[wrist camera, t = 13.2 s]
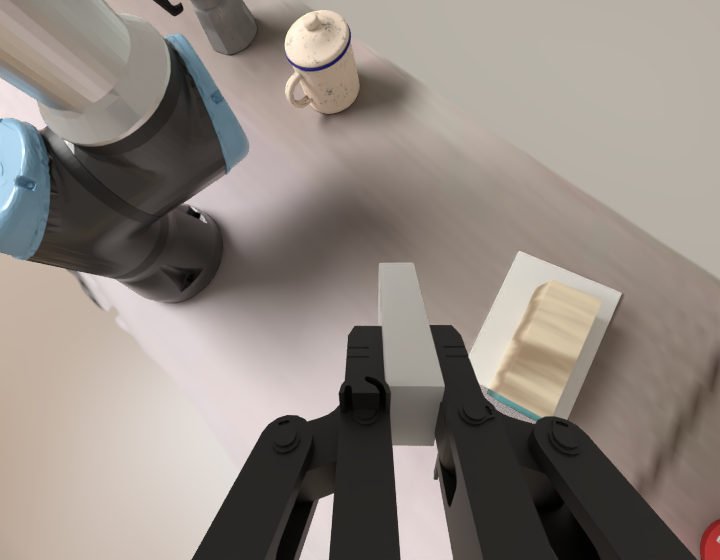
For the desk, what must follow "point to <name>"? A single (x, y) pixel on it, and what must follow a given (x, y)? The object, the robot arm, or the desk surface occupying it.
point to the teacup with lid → (322, 62)
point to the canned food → (711, 542)
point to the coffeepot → (221, 22)
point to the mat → (511, 309)
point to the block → (544, 349)
